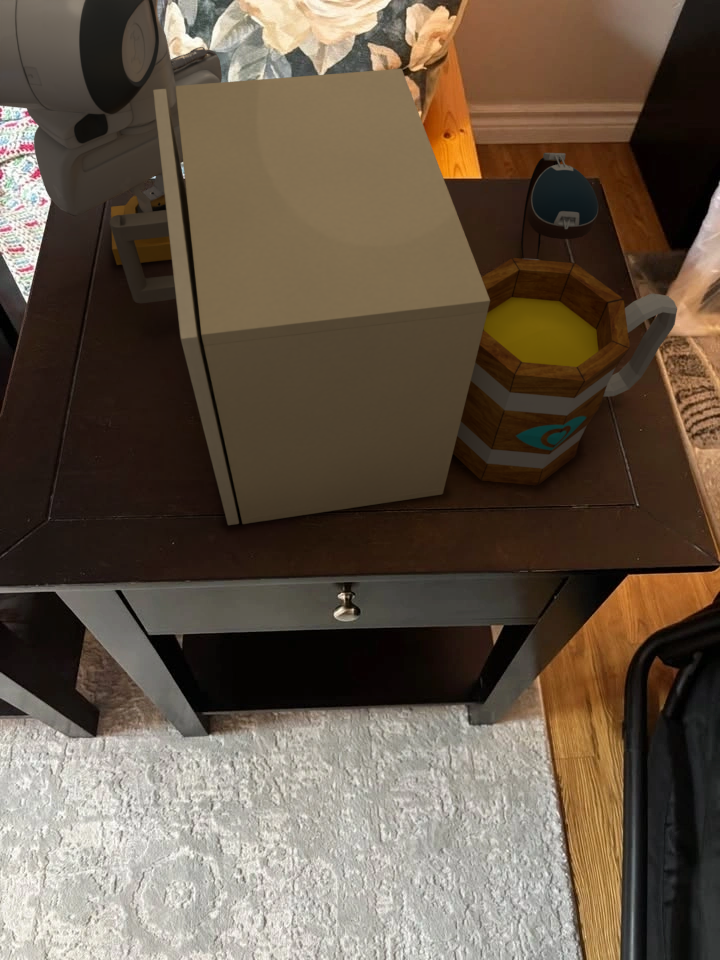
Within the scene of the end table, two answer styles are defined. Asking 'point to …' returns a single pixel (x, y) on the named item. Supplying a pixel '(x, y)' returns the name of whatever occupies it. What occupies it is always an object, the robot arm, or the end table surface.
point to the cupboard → (328, 289)
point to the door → (177, 289)
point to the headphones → (556, 204)
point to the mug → (549, 366)
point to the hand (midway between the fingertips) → (156, 207)
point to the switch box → (145, 247)
